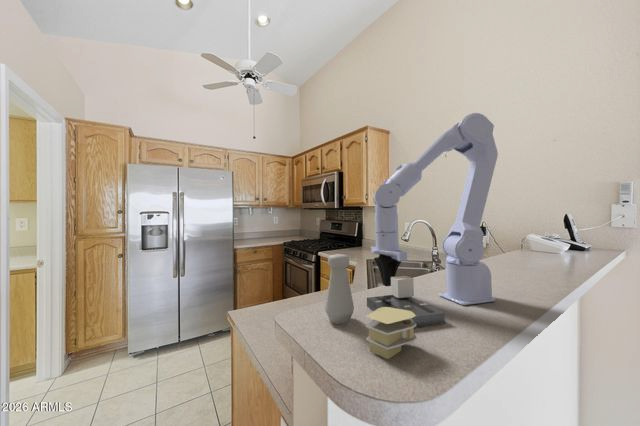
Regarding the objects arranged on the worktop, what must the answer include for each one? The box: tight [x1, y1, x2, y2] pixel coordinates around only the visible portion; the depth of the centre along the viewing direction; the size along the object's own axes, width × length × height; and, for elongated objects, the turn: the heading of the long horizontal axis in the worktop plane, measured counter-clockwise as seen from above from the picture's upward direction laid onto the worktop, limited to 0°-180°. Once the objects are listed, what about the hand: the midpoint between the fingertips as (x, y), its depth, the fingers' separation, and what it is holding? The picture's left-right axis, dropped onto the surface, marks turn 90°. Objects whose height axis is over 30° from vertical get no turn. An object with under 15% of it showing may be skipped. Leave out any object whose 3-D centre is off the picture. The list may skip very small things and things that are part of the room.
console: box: [366, 294, 446, 329], centre depth 52 cm, size 10×13×2 cm
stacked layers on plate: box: [365, 307, 418, 360], centre depth 39 cm, size 10×9×6 cm
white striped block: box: [390, 275, 415, 298], centre depth 57 cm, size 4×3×4 cm
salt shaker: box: [324, 253, 355, 325], centre depth 50 cm, size 6×6×13 cm
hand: (388, 285), depth 63 cm, fingers closed
